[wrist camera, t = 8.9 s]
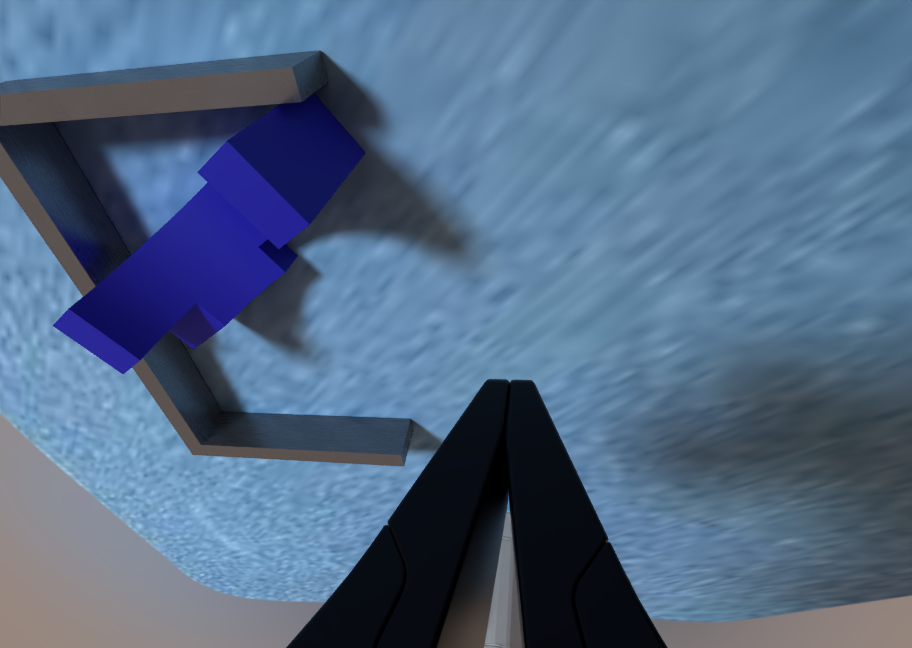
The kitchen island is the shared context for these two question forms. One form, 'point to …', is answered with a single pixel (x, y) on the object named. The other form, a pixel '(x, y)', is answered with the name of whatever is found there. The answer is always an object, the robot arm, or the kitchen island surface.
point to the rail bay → (102, 251)
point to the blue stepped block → (220, 237)
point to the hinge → (504, 598)
